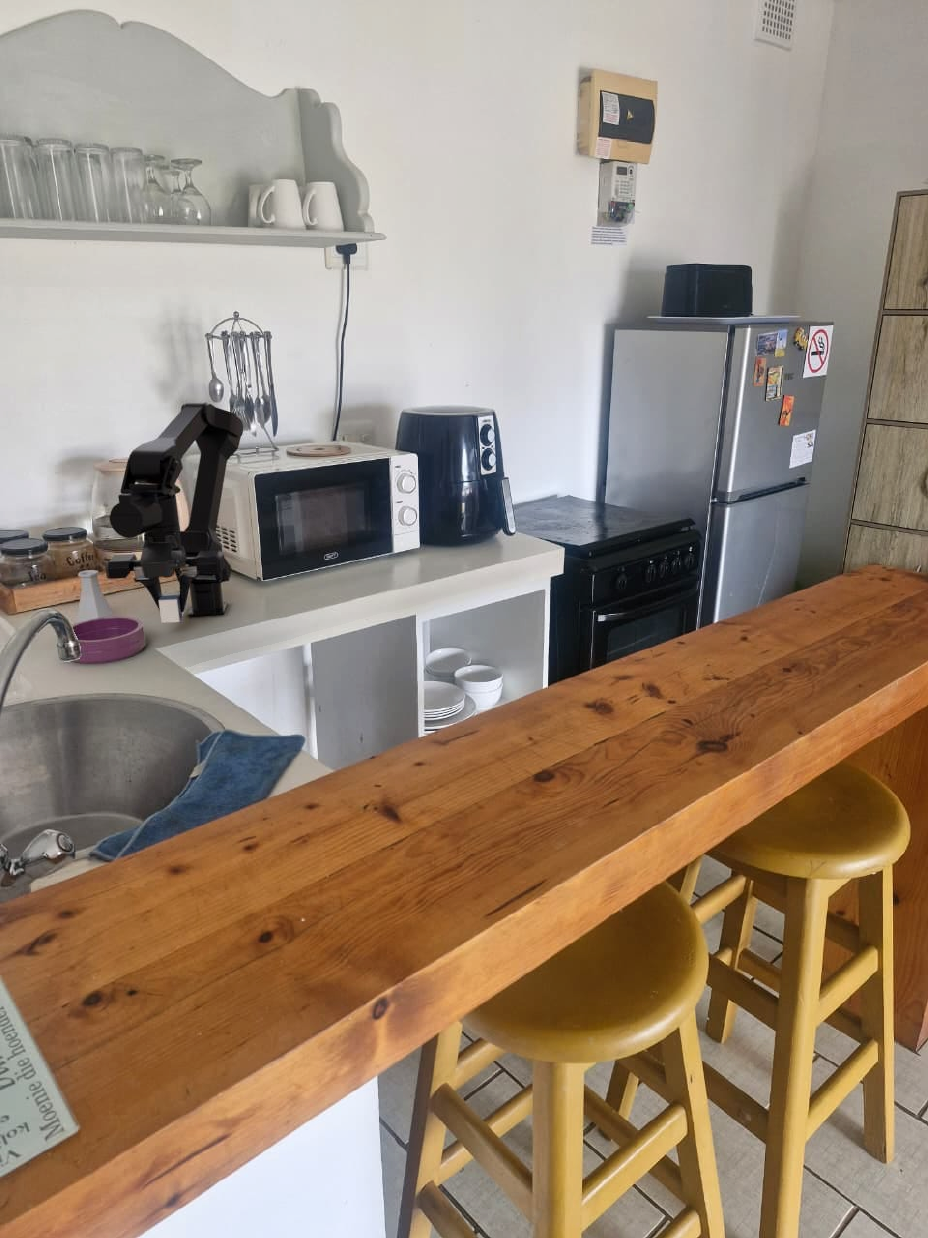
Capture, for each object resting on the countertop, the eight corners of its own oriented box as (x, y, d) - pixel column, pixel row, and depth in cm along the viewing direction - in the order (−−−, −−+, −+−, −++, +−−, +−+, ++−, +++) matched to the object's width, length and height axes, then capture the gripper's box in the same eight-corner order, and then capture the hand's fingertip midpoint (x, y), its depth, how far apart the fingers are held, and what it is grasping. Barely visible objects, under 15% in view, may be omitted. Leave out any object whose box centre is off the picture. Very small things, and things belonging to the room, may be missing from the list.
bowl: (76, 640, 150) (73, 618, 148) (153, 636, 151) (150, 614, 150) (54, 667, 138) (50, 644, 137) (138, 662, 139) (134, 639, 138)
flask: (102, 633, 153) (94, 578, 150) (66, 631, 154) (57, 577, 151) (125, 620, 160) (118, 567, 156) (90, 618, 161) (82, 566, 158)
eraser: (166, 613, 154) (164, 591, 152) (184, 612, 154) (182, 590, 153) (161, 623, 149) (158, 600, 147) (179, 622, 149) (176, 599, 148)
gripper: (90, 537, 137) (105, 630, 142) (211, 532, 140) (221, 624, 145) (108, 522, 148) (120, 609, 153) (220, 517, 150) (229, 603, 155)
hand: (172, 612), depth 151 cm, fingers closed on eraser, 3 cm apart
